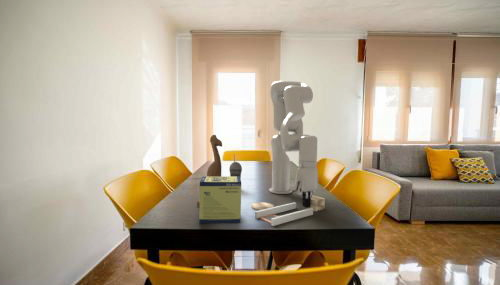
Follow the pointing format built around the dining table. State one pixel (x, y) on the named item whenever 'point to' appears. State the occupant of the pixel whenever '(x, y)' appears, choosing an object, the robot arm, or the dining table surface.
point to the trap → (268, 217)
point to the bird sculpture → (215, 166)
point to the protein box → (220, 200)
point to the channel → (284, 217)
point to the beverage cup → (235, 169)
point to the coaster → (261, 206)
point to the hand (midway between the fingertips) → (306, 206)
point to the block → (317, 203)
